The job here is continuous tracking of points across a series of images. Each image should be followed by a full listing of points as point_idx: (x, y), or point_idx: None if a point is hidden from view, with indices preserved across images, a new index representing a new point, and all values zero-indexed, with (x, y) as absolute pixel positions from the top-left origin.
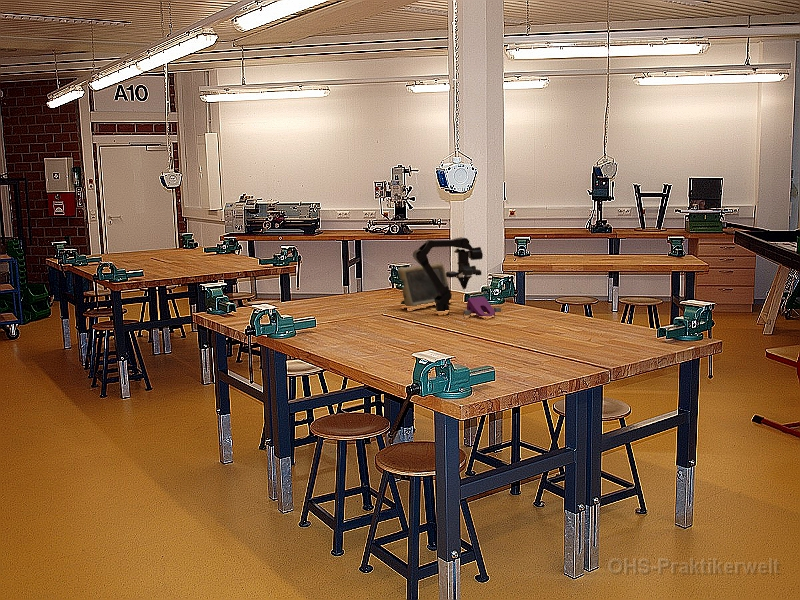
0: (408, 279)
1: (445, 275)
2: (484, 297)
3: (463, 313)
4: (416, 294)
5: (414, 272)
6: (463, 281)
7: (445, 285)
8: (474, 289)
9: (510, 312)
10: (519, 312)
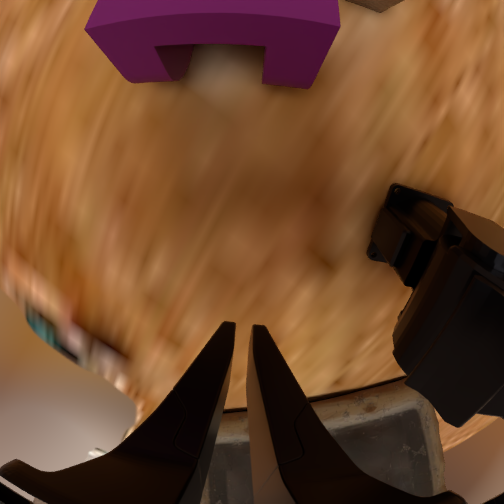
0: None
1: None
2: (95, 11)
3: (394, 3)
4: (393, 446)
5: None
6: (281, 440)
7: (501, 385)
8: (88, 458)
9: (25, 28)
10: (2, 14)
